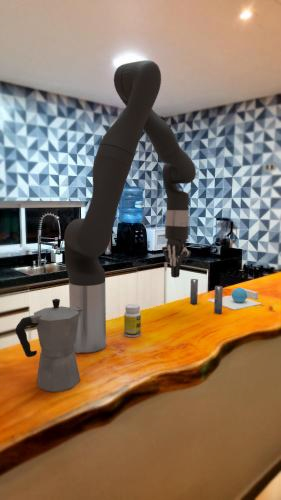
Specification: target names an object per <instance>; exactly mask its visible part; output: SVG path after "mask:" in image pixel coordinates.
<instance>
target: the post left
mask: <svg viewBox="0 0 281 500" xmlns="http://www.w3.org/2000/svg"><path fill="white" fill-rule="evenodd" d="M198 287H199V279H197V278H191V279H190V294H189V295H190V296H189V297H190V298H189V303H190V305H193V306H196V305H198V295H199V290H198Z"/></svg>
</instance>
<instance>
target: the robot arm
mask: <svg viewBox="0 0 281 500" xmlns="http://www.w3.org/2000/svg"><path fill="white" fill-rule="evenodd" d="M113 76H114V77H113V83H114V85H113V86H114V89H115V91H116V93H117V95H118V97H119V98H120V100H121V102H122V103H123V104H124V105H125V109H124V110H123V111H122V113H121V114H120V116H119V117H118V118H117V119H116V120H115V121H114V122H113V124H111V126H110V127H109V128H108V130H107V131H106V132H105V134H104V135H103V137H102V139H101V140H100V142H99V145H98V148H97V152H96V154H95V157H94V160H93V165H92V195H91V198H90V199H91V200H90V202H89V206H88V209H87V211H86V214H85V216H84V218H81V217H80V218H76V219H73V220H72V221H70V223H68V225H67V226H66V229H65V231H64V236H63V237H64V238H63V239H64V240H63V245H64V246H63V248H64V260H65V262H64V263H65V269H66V273H67V275H68V292H69V293H68V296H69V297H68V298H69V299H68V300H69V301H68V302H69V307H80V308H82V309H84V310H83V311H82V312H81V314H80V316H79V320H78V327H77V335H76V343H75V344H74V351H75V354H79V353H95V352H99V351H101V350H103V349H105V348H106V346H107V317H106V316H107V315H106V314H107V313H106V310H107V308H106V306H107V305H106V302H107V301H106V298H107V297H106V271H105V269H104V268H103V266H102V265H101V263H100V260H99V257H100V256H101V255H103V254H104V253H105V252H106V251H107V249H108V247H109V245H110V243H111V239H112V236H113V231H114V225H115V220H116V217H117V211H118V208H119V204H120V202H121V198H122V195H123V192H124V189H125V185H126V184H127V183H126V182H127V179H128V176H129V173H130V171H131V168H132V164H133V162H134V159H135V156H136V152H137V148H138V145H139V143H140V139H141V137H142V134H143V131H144V133H145V134H146V136H147V137H148V138H147V139H149V141H150V142H151V145H152V147H153V149H154V151H155V152H156V153H155V154H156V155H157V156H158V159H159V160H160V161H161V162H162V163H164V165H163V168H162V170H161V173H162V174H161V176H162V181H163V186H164V189H165V195H166V213H165V218H164V219H165V223H164V226H165V229H164V238H165V239H167V241H166V244H165V246H162V247H161V249H162V253H163V256H164V258H165V260H166V263H167V264H169V266H170V275H171V278H175V279H176V278H180V272H181V266H185V264H186V263H187V262H188V260H189V257H190V256H191V254H192V251H191V250H188V249H187V242H186V241H187V240H188V239H189V227H190V226H189V225H190V224H189V223H190V215H189V210H190V209H189V205H190V204H189V203H190V194H189V193H188V192H186V191H183V190H180V189H179V187H178V185H179V184H181V185H182V184H186V185H187V184H190V183H192V182H193V181H194V180H195V179H196V175H197V170H196V167H195V164H194V161H193V160H192V159H191V158H190V157H189V156H188V155H187V153H186V152H185V151H184V150H183V149H182V148H181V147H180V144H179V142H178V139H177V137H176V134H175V133H174V131H173V129H172V127H170V125H169V124H168V123H167V122H166V121H165V120H163V118H162V117H160V116H159V115H158V114H157V113H156V112H155V110H154V109H153V107H154V105H155V103H156V100H157V97H158V96H159V92H160V89H161V84H162V74H161V70H160V66H159V65H158V64H157V63H156V62H155V61H154V60H153V61H152V60H146V59H145V60H139V61H133V62H126V63H123V64H121V65H120V66H118V67H117V68H116V70H115V72H114V75H113Z"/></svg>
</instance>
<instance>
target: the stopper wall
mask: <svg viewBox="0 0 281 500" xmlns="http://www.w3.org/2000/svg"><path fill="white" fill-rule="evenodd" d="M241 288H242V289H244V290H245V291H246V293H247V298H248V299H251V300H258V299H259V292H257V291H254V290H250V289H248V288H244V287H241Z"/></svg>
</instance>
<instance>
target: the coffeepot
mask: <svg viewBox="0 0 281 500" xmlns="http://www.w3.org/2000/svg"><path fill="white" fill-rule="evenodd" d="M51 301H52V306H51V307H45V308H42V309H40V310H37V311H34V312H33V315H28V316H25V317H22V318H21V319H20V320H19V322H18V324H17V325H16V327H15V334H16V337H17V339H18V340H19V341H18V342H19V343H20V345H21V348H22V350H23V352H24V355H25V356H26V358H32V357H35V356H36V355H37V354H38V351H37V350H33V351H32V350H31V344H30V342H29V340H28V336H27V333H26V330H25V329H26V328H27V327H34V326H36V331H37V336H38V343H39V346H40V348H41V350H40V351H41V352H40V353H39V361H38V368H37V375H36V382H37V383H38V384H37V387H38V388H39V389H40V390H42V391H44V392H49V393H50V392H51V393H58V392H60V393H61V392H64V391H68V390H71V389H72V388H74V387H75V386H77V385H78V383H79V382H80V381H81V378H80V377H81V376H80V371H79V366H78V361H77V355H76V352H75V351H74V344H75V343H76V335H77V327H78V320H79V316H80V314H81V312H82V311H83V310H84V309H82V308H80V307H70V306H60V303H61V300H60V299H59V298H54V299H52V300H51Z"/></svg>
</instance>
